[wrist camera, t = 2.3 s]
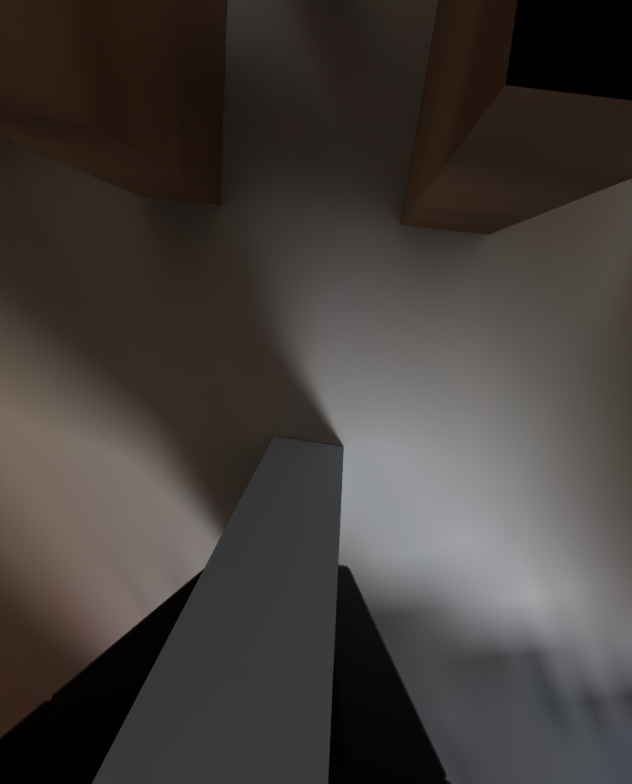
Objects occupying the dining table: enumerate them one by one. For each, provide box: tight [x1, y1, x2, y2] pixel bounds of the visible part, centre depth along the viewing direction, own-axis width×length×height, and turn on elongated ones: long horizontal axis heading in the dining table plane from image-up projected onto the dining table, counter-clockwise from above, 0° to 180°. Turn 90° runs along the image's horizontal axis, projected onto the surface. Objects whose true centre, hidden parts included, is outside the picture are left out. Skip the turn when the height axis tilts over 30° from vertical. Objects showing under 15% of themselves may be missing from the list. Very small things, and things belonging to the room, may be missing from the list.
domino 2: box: [92, 436, 344, 784], centre depth 5 cm, size 2×4×8 cm, turn 174°
